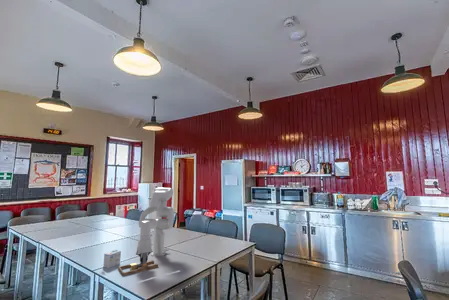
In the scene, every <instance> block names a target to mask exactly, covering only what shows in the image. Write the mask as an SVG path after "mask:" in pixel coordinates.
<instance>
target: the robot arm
mask: <svg viewBox="0 0 449 300" xmlns="http://www.w3.org/2000/svg"><path fill="white" fill-rule="evenodd" d="M173 193H174V190H173V188H171V187H156V188H155V189H154V191H153V193H152V195H151V199H150V202H149V205H148V207H146V208H145V209H144V210H143V211H142V213H141V215H140V217H139V220H138V227H139V228H140V229H139V230H140V231H139V238H138V241H137V245H136V246H137V247H136V252H135V255H136V256H138V257H139V262H141V263H143V257H142V255H143V253H146V252H147V257H146V262H147V261H149V260H148V259H149V255H150V254H151V256H152V257H156V256H161V257H162V256H163V257H164V256H165V255H167V253H166V252H170V248H165V239H166V238H165V237H166V236H165V235H166V234H165V230H169V231H171V230H172V229H173V226H174V217H175V216H174V215H175V209H174V207H173V206H167V204H168V200H170V199H171V198H172V197H173V195H174V194H173ZM154 212H156V216H157V217H158V218H146V217H147V216H149V214H152V213H154ZM152 230H153V235H152V234H151V231H152ZM151 237H153V246H152V238H151ZM152 247H153V249H152Z"/></svg>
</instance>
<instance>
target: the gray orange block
mask: <svg viewBox="0 0 449 300" xmlns="http://www.w3.org/2000/svg"><path fill="white" fill-rule="evenodd" d="M142 257H143V266H147V263H146V257H147V252H146V253H143V255H142Z"/></svg>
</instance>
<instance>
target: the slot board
mask: <svg viewBox="0 0 449 300" xmlns="http://www.w3.org/2000/svg"><path fill="white" fill-rule="evenodd" d="M146 263H147V266H142V267H138V268H137V270H133V271H131V270H129V271H123V270H124V269H130V264H131V263H130V264H125V265H120V266H118V268H117V270H118V271H119V273H120V275H121V276H122V277H124V276H129V275H134V274H137V273H141V272H145V271H150V270H155V269H159V263H158V262H157V263H155V260H154V259H151V260H147V262H146Z"/></svg>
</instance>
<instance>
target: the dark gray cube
mask: <svg viewBox="0 0 449 300" xmlns="http://www.w3.org/2000/svg"><path fill="white" fill-rule="evenodd" d="M135 263H136V264H137V268H138V267H142V266H143V263H141V262H140V261H138V262H135Z"/></svg>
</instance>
